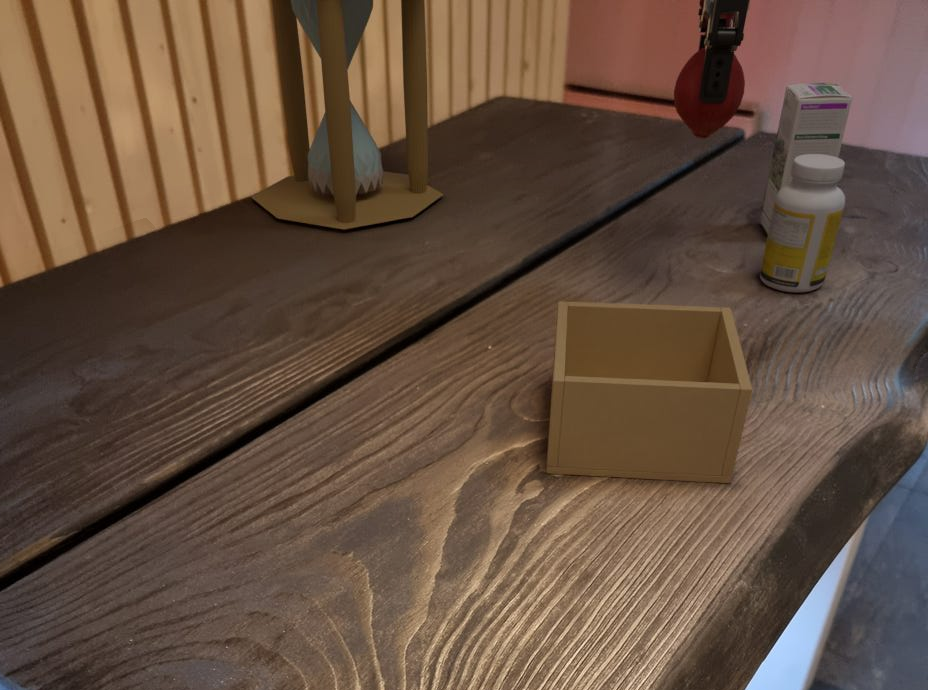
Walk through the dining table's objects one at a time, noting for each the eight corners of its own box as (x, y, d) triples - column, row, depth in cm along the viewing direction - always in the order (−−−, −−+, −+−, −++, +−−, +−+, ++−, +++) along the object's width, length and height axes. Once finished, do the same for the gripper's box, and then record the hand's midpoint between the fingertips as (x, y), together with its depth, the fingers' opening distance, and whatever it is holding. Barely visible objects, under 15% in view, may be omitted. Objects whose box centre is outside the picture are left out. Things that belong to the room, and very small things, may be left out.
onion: (689, 126, 85) (704, 23, 80) (746, 136, 82) (766, 30, 77) (656, 140, 82) (670, 33, 76) (714, 151, 79) (733, 42, 74)
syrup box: (820, 241, 104) (857, 95, 94) (767, 241, 104) (799, 95, 94) (806, 223, 108) (841, 82, 98) (756, 223, 108) (785, 82, 99)
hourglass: (476, 197, 116) (478, -49, 99) (343, 246, 104) (320, -25, 87) (350, 161, 128) (333, -65, 111) (218, 200, 116) (176, -46, 99)
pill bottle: (822, 274, 97) (854, 153, 89) (823, 298, 93) (857, 173, 85) (758, 268, 98) (785, 148, 91) (756, 291, 94) (784, 168, 86)
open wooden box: (713, 395, 78) (730, 307, 73) (730, 483, 68) (752, 389, 63) (551, 387, 79) (558, 300, 74) (546, 473, 69) (552, 380, 64)
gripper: (817, -162, 63) (763, 116, 74) (788, -170, 73) (744, 75, 84) (704, -161, 63) (667, 114, 75) (692, -169, 74) (661, 73, 85)
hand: (708, 92), depth 80 cm, fingers closed on onion, 6 cm apart
